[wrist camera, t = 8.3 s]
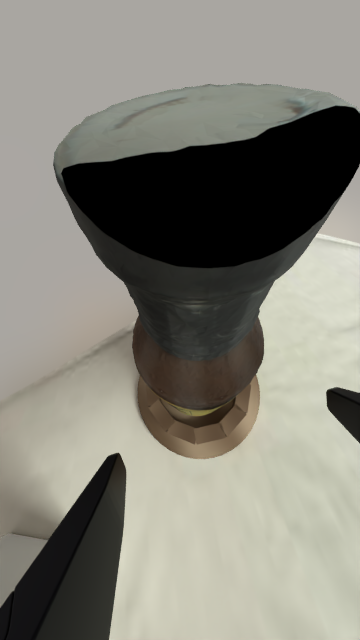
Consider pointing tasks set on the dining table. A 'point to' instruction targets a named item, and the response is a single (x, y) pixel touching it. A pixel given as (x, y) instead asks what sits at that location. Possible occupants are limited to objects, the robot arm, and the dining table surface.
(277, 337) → the dining table surface
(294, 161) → the sauce bottle
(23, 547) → the milk carton
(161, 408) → the ring holder
